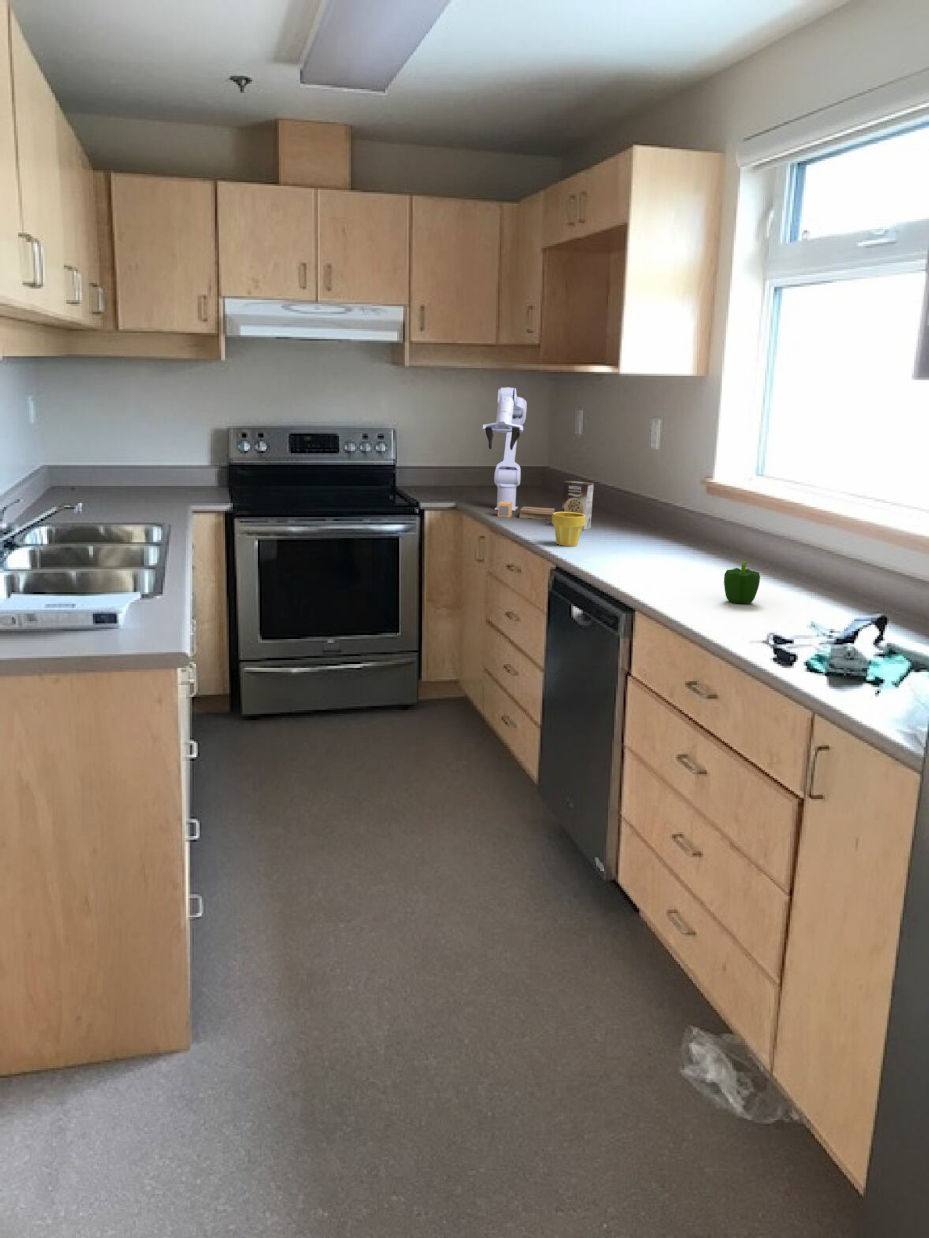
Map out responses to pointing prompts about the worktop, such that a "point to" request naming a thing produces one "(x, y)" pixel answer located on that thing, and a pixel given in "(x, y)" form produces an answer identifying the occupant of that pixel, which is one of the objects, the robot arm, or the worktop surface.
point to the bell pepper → (741, 584)
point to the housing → (504, 509)
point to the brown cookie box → (578, 499)
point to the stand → (536, 513)
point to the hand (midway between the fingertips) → (500, 447)
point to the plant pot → (568, 527)
